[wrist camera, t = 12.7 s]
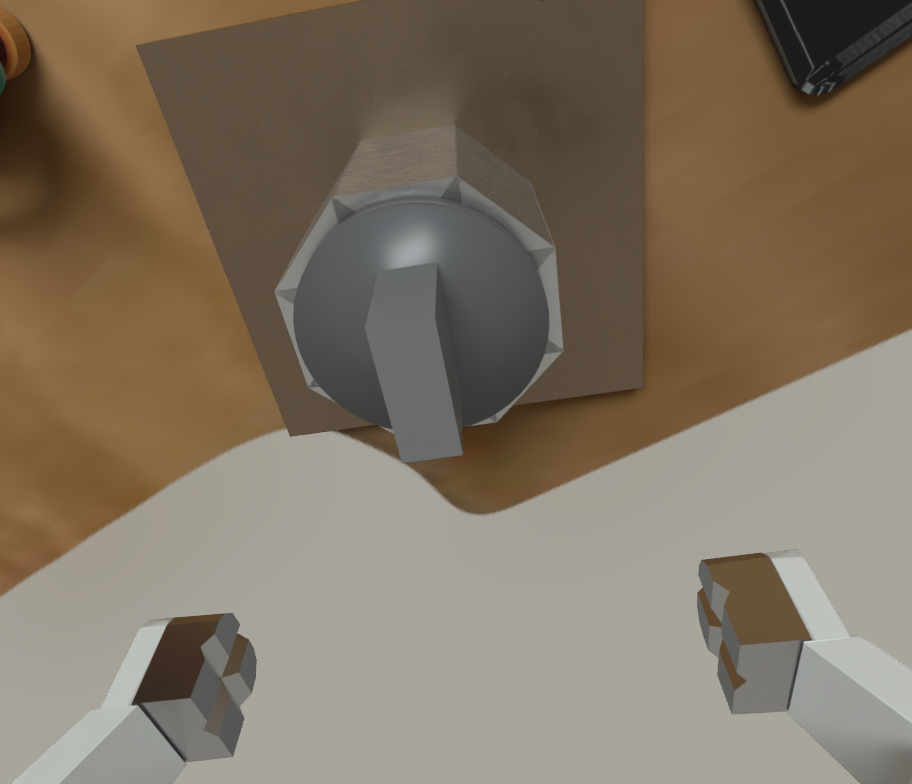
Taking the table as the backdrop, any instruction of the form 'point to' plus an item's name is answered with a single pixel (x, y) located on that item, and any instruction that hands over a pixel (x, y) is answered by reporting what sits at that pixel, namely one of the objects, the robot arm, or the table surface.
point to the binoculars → (12, 48)
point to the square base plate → (422, 160)
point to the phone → (833, 37)
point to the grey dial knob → (421, 320)
